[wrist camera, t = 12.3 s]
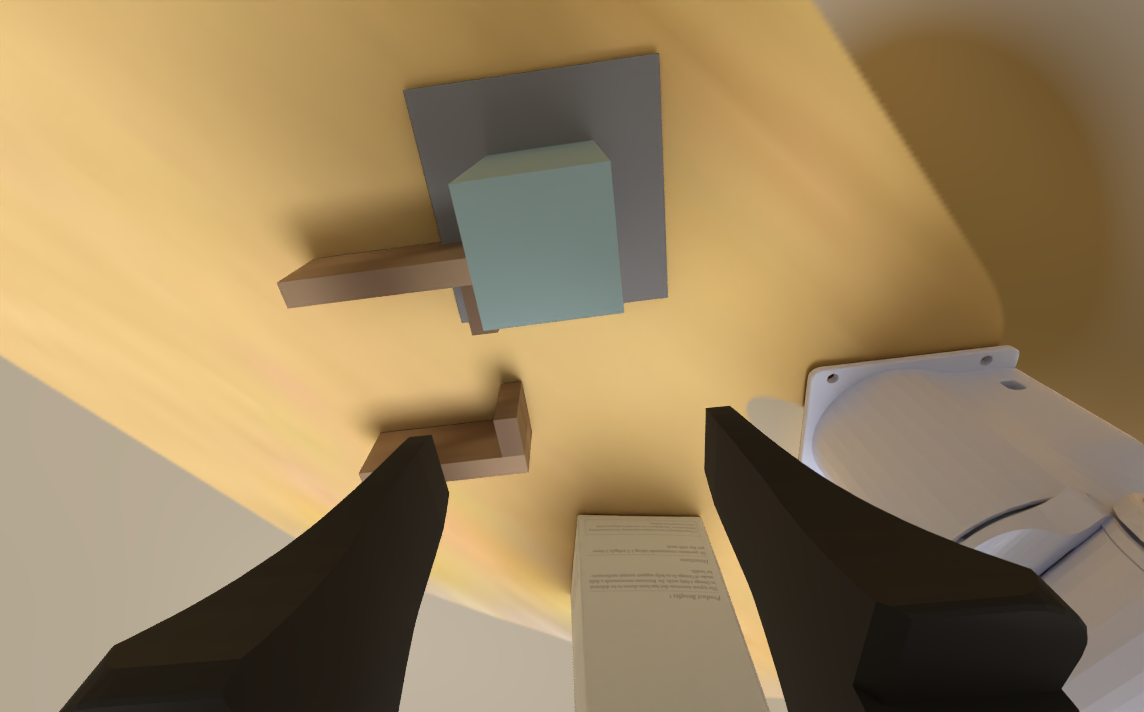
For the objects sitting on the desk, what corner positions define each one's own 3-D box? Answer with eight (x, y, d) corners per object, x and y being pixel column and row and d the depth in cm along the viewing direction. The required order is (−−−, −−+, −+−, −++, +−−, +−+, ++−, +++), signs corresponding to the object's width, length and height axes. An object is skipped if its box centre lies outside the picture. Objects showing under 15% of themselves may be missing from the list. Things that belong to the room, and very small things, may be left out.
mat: (657, 53, 17) (658, 52, 17) (666, 293, 21) (667, 297, 21) (406, 90, 17) (402, 90, 17) (463, 319, 22) (461, 323, 21)
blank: (593, 139, 18) (610, 160, 12) (604, 246, 20) (623, 312, 14) (486, 155, 18) (448, 184, 12) (507, 259, 20) (483, 330, 14)
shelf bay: (492, 235, 20) (481, 256, 17) (531, 432, 25) (528, 472, 22) (313, 258, 20) (276, 283, 18) (386, 448, 25) (365, 490, 22)
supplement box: (568, 597, 31) (572, 883, 19) (576, 509, 27) (587, 797, 16) (684, 599, 31) (754, 882, 20) (706, 514, 28) (807, 797, 16)
